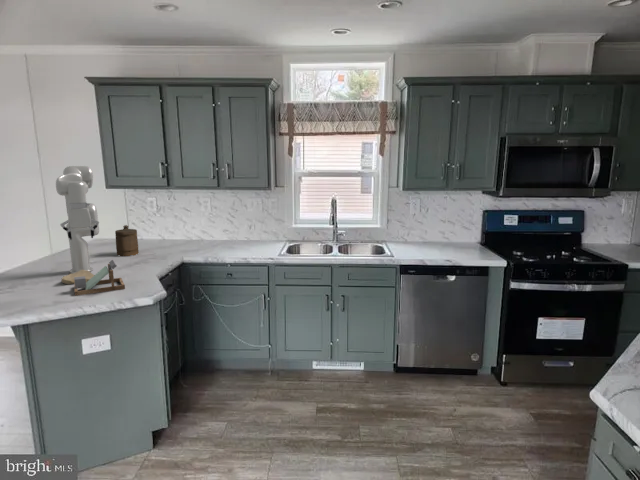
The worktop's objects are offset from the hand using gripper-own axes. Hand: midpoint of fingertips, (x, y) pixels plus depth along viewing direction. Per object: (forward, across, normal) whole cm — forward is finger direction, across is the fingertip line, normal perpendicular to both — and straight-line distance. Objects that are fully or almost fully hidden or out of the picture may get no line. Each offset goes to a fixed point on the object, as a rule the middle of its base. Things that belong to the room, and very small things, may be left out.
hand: (81, 238), depth 209 cm
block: (+24, 0, 0) cm, 24 cm away
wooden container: (+29, -30, -83) cm, 92 cm away
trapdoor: (+21, -8, 0) cm, 23 cm away
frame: (+28, -6, 0) cm, 29 cm away
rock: (+29, +2, -20) cm, 35 cm away
